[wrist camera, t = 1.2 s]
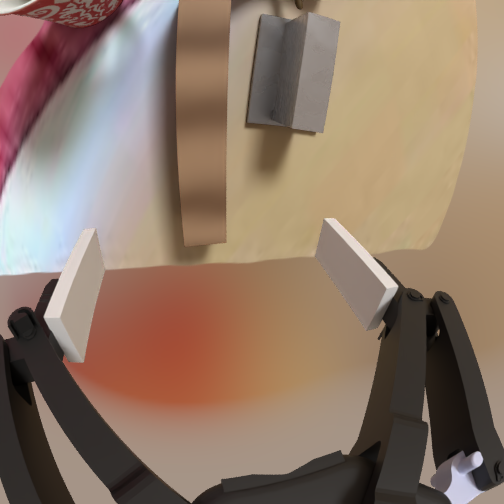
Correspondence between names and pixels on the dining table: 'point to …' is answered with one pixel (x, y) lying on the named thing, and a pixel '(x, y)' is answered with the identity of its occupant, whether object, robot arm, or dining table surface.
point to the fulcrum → (293, 71)
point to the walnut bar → (202, 118)
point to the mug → (62, 10)
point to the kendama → (299, 4)
